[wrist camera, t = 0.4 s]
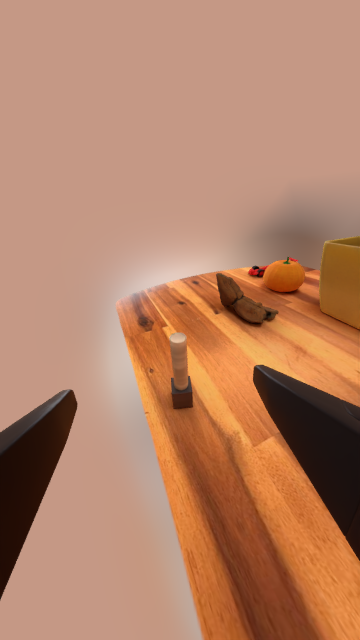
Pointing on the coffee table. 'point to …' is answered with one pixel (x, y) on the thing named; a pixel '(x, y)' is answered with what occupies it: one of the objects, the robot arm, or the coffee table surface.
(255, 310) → the sculpture
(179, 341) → the brush
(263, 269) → the toy car
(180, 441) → the coffee table surface
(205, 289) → the coffee table surface
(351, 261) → the flower pot
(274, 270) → the fruit
